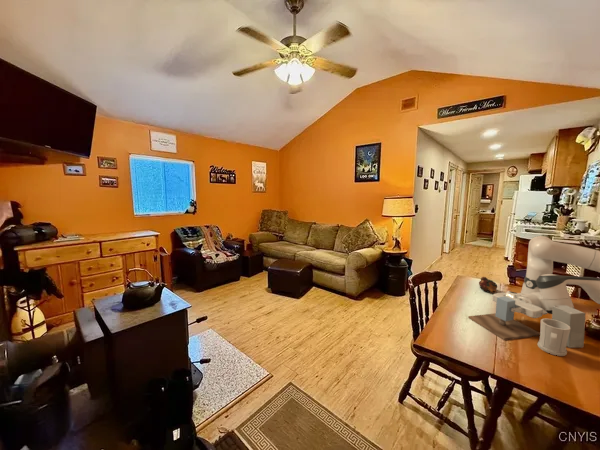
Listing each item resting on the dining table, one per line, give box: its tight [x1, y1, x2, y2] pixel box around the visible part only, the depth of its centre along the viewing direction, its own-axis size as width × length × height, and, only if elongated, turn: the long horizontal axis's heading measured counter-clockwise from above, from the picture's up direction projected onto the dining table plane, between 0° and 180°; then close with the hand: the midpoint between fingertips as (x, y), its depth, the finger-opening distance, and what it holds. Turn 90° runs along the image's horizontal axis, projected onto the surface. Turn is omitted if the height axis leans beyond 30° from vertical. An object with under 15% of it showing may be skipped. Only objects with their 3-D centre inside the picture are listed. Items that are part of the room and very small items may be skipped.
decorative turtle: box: [478, 276, 498, 294], centre depth 166 cm, size 10×15×8 cm, turn 174°
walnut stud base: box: [467, 312, 540, 341], centre depth 124 cm, size 20×20×7 cm
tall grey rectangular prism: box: [495, 296, 515, 321], centre depth 123 cm, size 5×5×10 cm
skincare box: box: [551, 305, 586, 349], centre depth 110 cm, size 8×7×16 cm
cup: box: [537, 318, 571, 357], centre depth 105 cm, size 10×9×12 cm
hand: (504, 306), depth 122 cm, fingers closed on tall grey rectangular prism, 5 cm apart
